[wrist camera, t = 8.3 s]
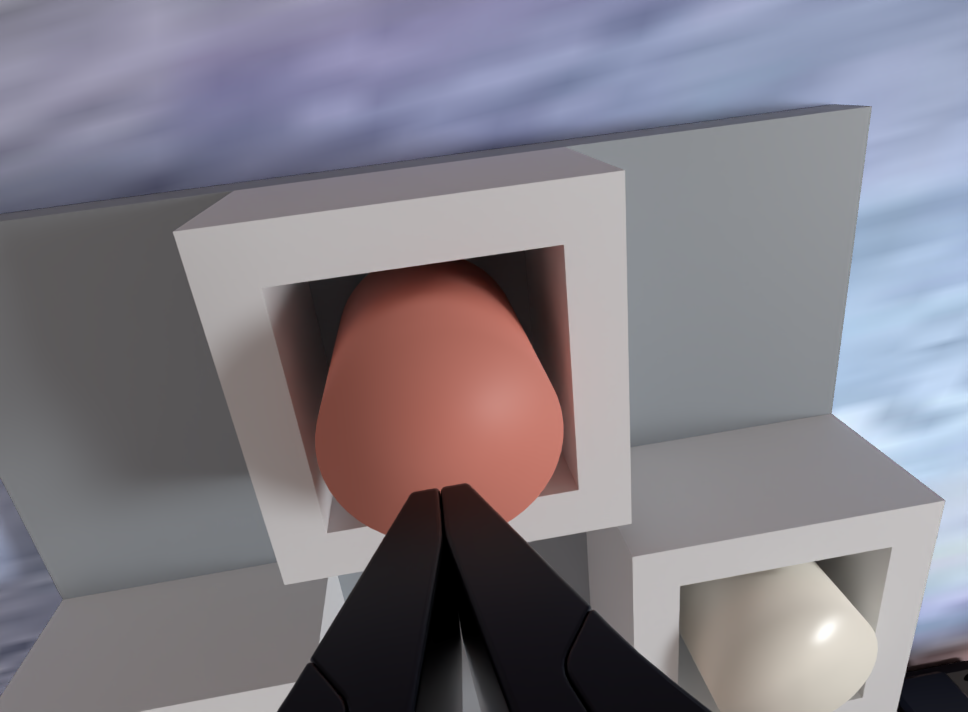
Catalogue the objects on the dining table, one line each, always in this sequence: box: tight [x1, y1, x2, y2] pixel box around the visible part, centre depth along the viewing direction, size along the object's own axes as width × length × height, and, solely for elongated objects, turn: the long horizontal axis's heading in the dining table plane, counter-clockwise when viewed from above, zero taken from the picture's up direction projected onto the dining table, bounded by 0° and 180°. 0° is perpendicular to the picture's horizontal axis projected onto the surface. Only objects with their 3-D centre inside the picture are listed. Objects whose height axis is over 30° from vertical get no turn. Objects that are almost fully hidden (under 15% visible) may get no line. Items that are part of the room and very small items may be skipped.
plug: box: [679, 561, 878, 712], centre depth 19 cm, size 4×4×5 cm
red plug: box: [315, 259, 563, 535], centre depth 13 cm, size 4×4×5 cm
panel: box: [0, 104, 945, 712], centre depth 18 cm, size 20×24×6 cm
